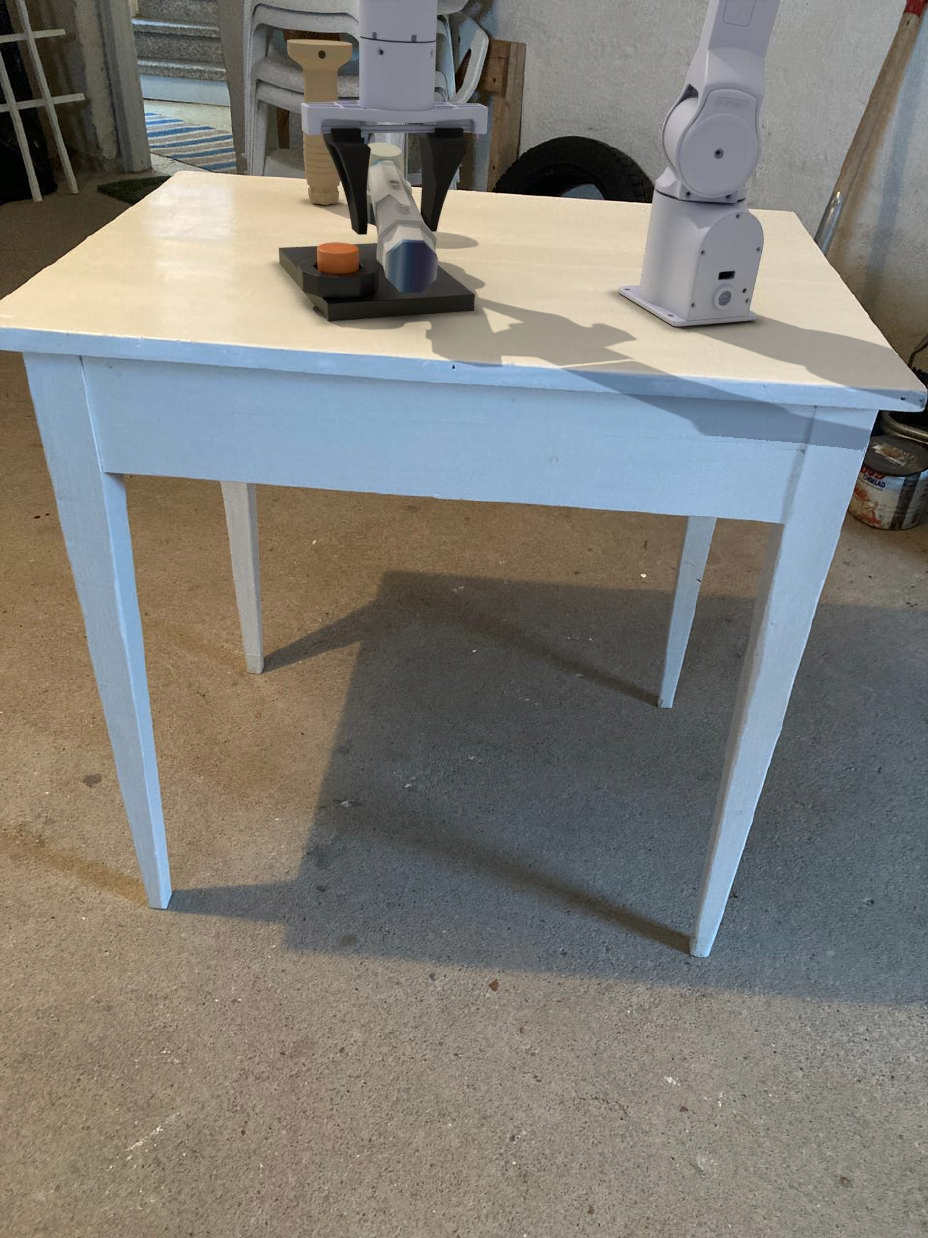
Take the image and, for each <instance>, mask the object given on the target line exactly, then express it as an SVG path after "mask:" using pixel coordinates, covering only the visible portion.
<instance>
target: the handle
mask: <svg viewBox="0 0 928 1238" xmlns="http://www.w3.org/2000/svg"><path fill="white" fill-rule="evenodd" d="M286 48H287V55H288V56H289V58H291V59H292V61H294V62H296V63H297V64H299V66H301V68H302V72H303V73H302V74H303V103H321V102H338V101H339V92H338V91H339V88H338V76H339V75H338V74H339V69H340V67H342V66H343V65H344V64H347V63H348V62H349V61H350V60H351V59H352V58H353V43H351V42H348V41H341V40H339V41H338V40H329V39H327V40H326V39H287V40H286ZM302 132H303V133H302V142H303V144H302V149H303V162H304V163H303V164H304V165H303V167H304V174H305V180H306V185H308V186H309V187H308V188H307V193H308V199H309V202H310V203H311V204H314V205H322V206H328V205H335V204H338V202H339V198H340V191H339V188H338V187H339V186H340V185H341V184H340V183H341V180H340V177H339V175H338V172H337V169H336V167H335V164H334V162H333V160H332V158H331V155H330V153H329V151H328V149H327V147H326V145H325V142H324V139H323V133H322V134H321V135H308V134H307V133H305V132H304V131H302Z"/></svg>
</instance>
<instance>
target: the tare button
mask: <svg viewBox="0 0 928 1238" xmlns="http://www.w3.org/2000/svg"><path fill="white" fill-rule="evenodd" d="M352 244H353V243H348V242H339V241H336V242H325V243H322V244H318V245H317V246H318V247H317V264H318V270H320V271H323V272H328V273H353V272H356V271H359V248H358V247H357V246H355V245H352Z"/></svg>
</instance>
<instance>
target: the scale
mask: <svg viewBox="0 0 928 1238" xmlns="http://www.w3.org/2000/svg"><path fill="white" fill-rule="evenodd" d="M351 244H352V245H355V246H357V247H358V248H359V271H356V272H353V273H328V272H323V271H320V270H318V264H317V247H318V246H319V245H309V246H308V245H307V246H288V247H287V246H284V247H278V261H279V262H278V263H279V265H280V266H281V267H282V268H283V269H284V271H285V272H286V273H287V274H288V275H289V277H290V278H291V279H292V280H293V282H294V283H295V284H296V285H297V286H298V287H299V289H300V290H301V291H302V292H303V294H304V295H305V296H306V297H307V298H308V299H309V301H310V302H311V304H313V305H314V307H315V309H317V310H318V311H319V313H320V314H321V315H322V316H323V317H324V319H325V320H326V321H327V322H340V321H341V322H343V321H355V320H356V321H357V320H368V319H369V320H371V319H382V318H396V317H410V316H423V315H435V314H437V315H438V314H449V313H465V312H474V311H475V301H476V300H475V299H476V294H475V293H474V292H473V291H471V290H470V289H469V288H468V287H466V286H465V285H464V284H463V283H461V282H460V281H459V280H457V279H456V278H455V277H454V276H453V275H451V274H450V273H448V272H447V271H446V270H445V269H444V268H442V267H441V266H440V265H439V264H438V265H437V276H436V280H435V281H434V282H432V283H431V284H430V285H429V286H428V287H427V288H425V289H424V290H423V291H422V292H421V293H412V292H399V291H398V290H397V289H396V287H395V286H394V285H393V284H392V283H391V282H390V281H389V280H388V279H387V278H386V276H385V271H384V267H383V266H382V265H381V264H380V262H379V261H378V260H377V242H370V243H351Z"/></svg>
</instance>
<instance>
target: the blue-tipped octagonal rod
mask: <svg viewBox="0 0 928 1238" xmlns="http://www.w3.org/2000/svg"><path fill="white" fill-rule="evenodd" d="M367 145H368V146H369V147H370V148H371V153H370V160H369V169H368V181H367V211H368V225H371V226H375V227H376V234H377V241H376V243H377V260H378V261H379V262H380V264H381V265H382V266H383V267H384V271H385V276H386V278H387V279H388V280H389V281H390V282H391V283H392V284H393V285H394V286H395V287H396V289H397V290H398V291H399V292H412V293H421V292H422V291H423V290H424V289H425V288H427V287H428V286H429V285H430V284H431V283H432V282H434V281H435V280H436V276H437V265H439V264H438V263H439V257H438V253H437V251H436V250H437V236H436V235H435V234H434V232H432V231H431V230H430V229H429V228H428V227H427V226H426V225H425V223H424V221H423V218H422V216H421V214H420V209H419V207H418V205H417V203H416V201H415V198H414V196H413V188H412V185H411V182H409V181H408V180H406V178H405V160H404V156H403V153H402V150H401V148H400V147H398V146H397V145H396V144H392V143H389V142H379V141H377V142H371V143H368V144H367Z"/></svg>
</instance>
